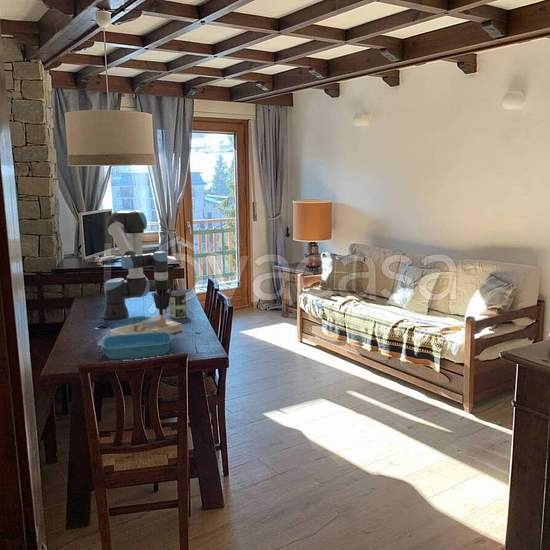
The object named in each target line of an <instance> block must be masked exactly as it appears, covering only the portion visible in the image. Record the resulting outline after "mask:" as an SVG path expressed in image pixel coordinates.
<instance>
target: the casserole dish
mask: <svg viewBox="0 0 550 550" xmlns="http://www.w3.org/2000/svg"><path fill="white" fill-rule="evenodd" d="M175 339H176V336H175V335H174V334H172V333H170V334H169V333H166V332H155V333H141V334H126V335H115V336H109V335H108V336H106V337H104V338H103V339H101V340H99V341H97V346H98V347H101V348H102V349H103V353H104V354H105V356H106V357H107V358H108V359H110V360H125V359H136V358H149V357H150V358H151V357H158V356H163V355H166V354H167V353H168V352H169V350H170V347H171V342H172V341H174V340H175Z"/></svg>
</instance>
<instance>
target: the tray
mask: <svg viewBox="0 0 550 550" xmlns="http://www.w3.org/2000/svg"><path fill="white" fill-rule="evenodd" d="M134 324H135V323H132V324H127V325H124V326H120V327H116V328H115V327H114V328H113V329H109V330H108V337H109V336H115V335H126V334H141V333H154V329H151V330H148V331H144V332H136V331H134Z"/></svg>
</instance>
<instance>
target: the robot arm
mask: <svg viewBox="0 0 550 550" xmlns="http://www.w3.org/2000/svg"><path fill="white" fill-rule="evenodd" d="M147 227H148V221H147V217H146V215H145V213H144V212H143V211H142V210H125V211H122V210H121V211H119V210H118V211H116V212H115V211H114V212H113V213H111V214H110V215H109V217H108V218H107V220H106V229H107V232H108V235H111V237H112V238H113V240H114V242H115V244H116V246H117V248H118V251H119V252H120V255H121V258H120V264H121V268H122V269H124V270H128V275H126V279H124V278H123V277H118V278H117V277H116V278H111V279H108V280H106V281H105V282H104V297H105V298H104V299H105V301H104V302H105V307H104V310H103V315H102V317H103V318H104V319H105V320H121V319H122V320H123V319H125V318H128V317H129V316H130V315H129V313H130V312H129V310H128V307H127V305H126V300H127V299H129V300H130V299H134V298H135V299H136V298H140V299H141V298H142V297H146V296H147V295H148V294H149V291H150V281H149V279H148V278H147V277H146V275H145V274H144V270H143V269H144V268H152V267H153V272H154V273H153V275H154V277H153V278H154V287H155V290H154V292H152V293H151V295H152V297H153V300H154V301H153V302H154V305H155V309H158V310H159V312H158V313H159V317H162V318H166V319H167V316H166V315H167V309H168V308H170V295H171V293H173V291H172V289H169V280H168V279H169V265H168V263H169V262H168V260H169V259H168V253H167V251H162V250H160V251H159V250H158V251H155V252H148V253H143V242H142V241H143V240H142V238H143V237H142V235H144V232H145V230H146V229H147Z"/></svg>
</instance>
